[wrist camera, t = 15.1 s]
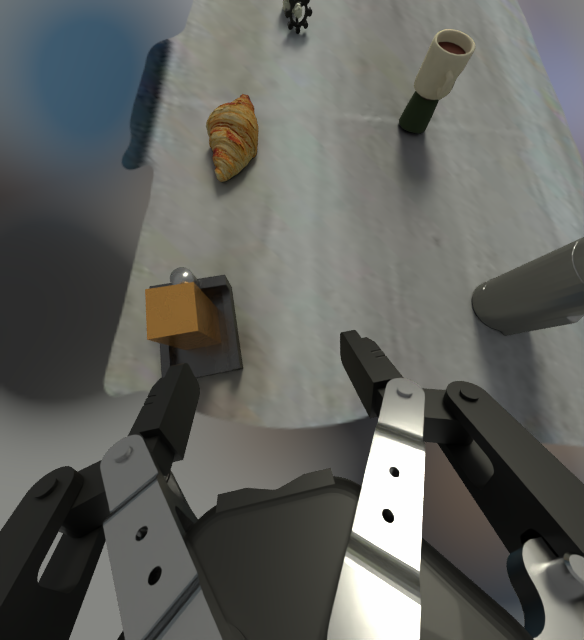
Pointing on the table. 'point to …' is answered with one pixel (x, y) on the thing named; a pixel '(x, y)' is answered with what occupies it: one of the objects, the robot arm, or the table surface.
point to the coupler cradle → (229, 350)
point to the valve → (296, 13)
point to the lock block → (181, 317)
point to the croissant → (232, 136)
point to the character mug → (436, 77)
